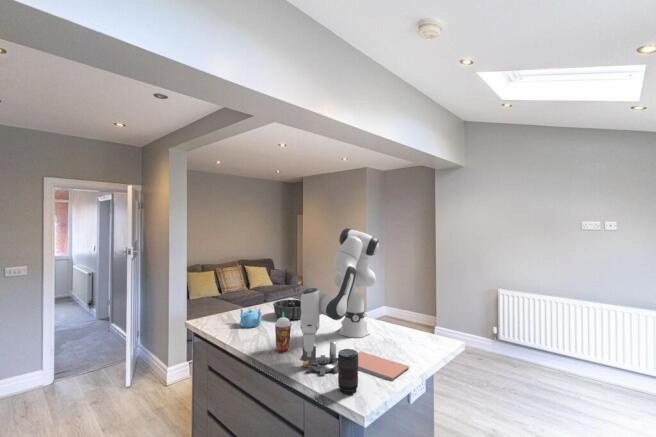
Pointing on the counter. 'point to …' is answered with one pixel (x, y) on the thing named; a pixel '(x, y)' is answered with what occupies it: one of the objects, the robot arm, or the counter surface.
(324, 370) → the sprocket
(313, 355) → the grey and orange block
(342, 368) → the camera lens
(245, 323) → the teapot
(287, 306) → the bundt pan
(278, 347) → the smoothie
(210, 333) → the counter surface
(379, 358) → the notebook
